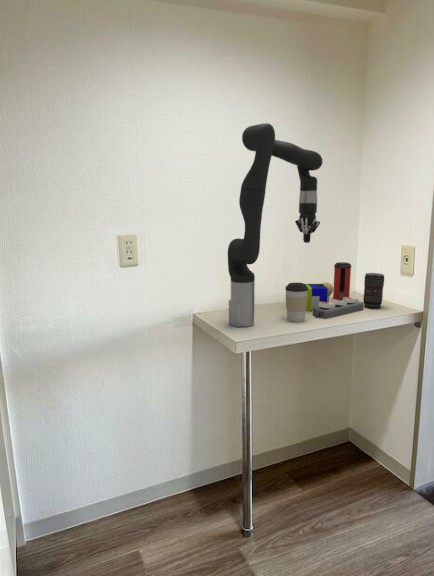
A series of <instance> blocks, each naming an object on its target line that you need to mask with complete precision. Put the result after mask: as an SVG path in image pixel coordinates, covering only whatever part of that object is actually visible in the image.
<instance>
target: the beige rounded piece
mask: <svg viewBox="0 0 434 576" xmlns="http://www.w3.org/2000/svg"><path fill="white" fill-rule="evenodd" d="M321 284H323V285H324V286H325V287H327V288H328V293H327V303H330V297H331V296H332V295H333V289H334V285H333V284H331V283H329V282H322V283H321Z"/></svg>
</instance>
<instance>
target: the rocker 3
mask: <svg viewBox="0 0 434 576" xmlns="http://www.w3.org/2000/svg"><path fill="white" fill-rule="evenodd" d="M359 300H360V299H359V298H356V297H353V296H351V297H350V296H349V297H343V301H344V302H347V303H358V301H359Z"/></svg>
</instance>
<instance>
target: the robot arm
mask: <svg viewBox="0 0 434 576" xmlns="http://www.w3.org/2000/svg"><path fill="white" fill-rule="evenodd" d="M241 140H242V144H243V146H244V147H245V149H246V150H248V151H251V152H254V153H255V154H254V159H253V163H252V165H251V166H250V168H249V170H248V172H247V173H246V175H245V177H244V178H243V180H242V183H241V185H240V192H239V199H238V200H239V201H238V202H239V203H238V204H239V209H240V212H241V216H242V219H243V221H244V222H243V223H244V234H243V238H234V239H232V240H231V241H230V242H229V243H228V247H227V267H228V268H227V269H228V273H229V278H230V299H229V300H228V324H229V325H232V326H234V327H237V328H240V327H242V328H243V327H251V326H253V325H255V288H256V287H255V273H254V272H253V271H252V270H251V269H250V268H249V267H248V265H254V264H255V262H256V261H257V260H258V258H259V256H260V247H261V226H262V218H263V217H262V216H263V210H264V203H265V198H266V188H267V182H268V174H269V170H270V164H271V160H272V157H275V158H278V159H280V160H283V161H285V162H287V163H289V164H292V165H294V166H296V169H297V173H298V177H299V181H300V185H299V195H298V196H299V197H298V213H299V218H298V219H297V220H295V221H294V222H295V225H296V227H297V228H298V231H299V233H302V234H303V239H302V240H303V243H305V244H307V243H308V244H309V243H310V242H311V235H312V234H314V233H315V232H316V231H317V229H318V228H319V226H320V224H321V221H320V220H319V221H318V220H317V216H316V214H317V212H318V178H317V177H316V176H312V175H311V173H310V171H316V170H319V169H320V168H321V167H322V165H323V157H322V156H321V154H320V153H319V152H318V151H315V150H310V149H305V148H302V147H300V146H298V145H296V144H295V143H292V142H288V141H284V140H279V139H276V132H275V129H274V125H271V123H266V122H265V123H260V124H253V125H250V126H248V127H246V128H245V129H244V130H243V131H242V135H241Z"/></svg>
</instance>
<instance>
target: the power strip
mask: <svg viewBox="0 0 434 576" xmlns="http://www.w3.org/2000/svg"><path fill="white" fill-rule="evenodd" d="M332 304H333V303H332ZM359 311H360V312H361V311H364V301H363V302H362V301H359V300H358V303H347V305H346V306H342V305H337V304H335V308H323V307H319V306H318V307H314V308H313V311H311V313H312V315H311V316H314V317H315V318H321V319H324V320H326V319H330V318H335V317H340V316H342V315H343V316H344V315H346V314H352V313H356V312H359ZM339 315H340V316H339Z"/></svg>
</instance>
